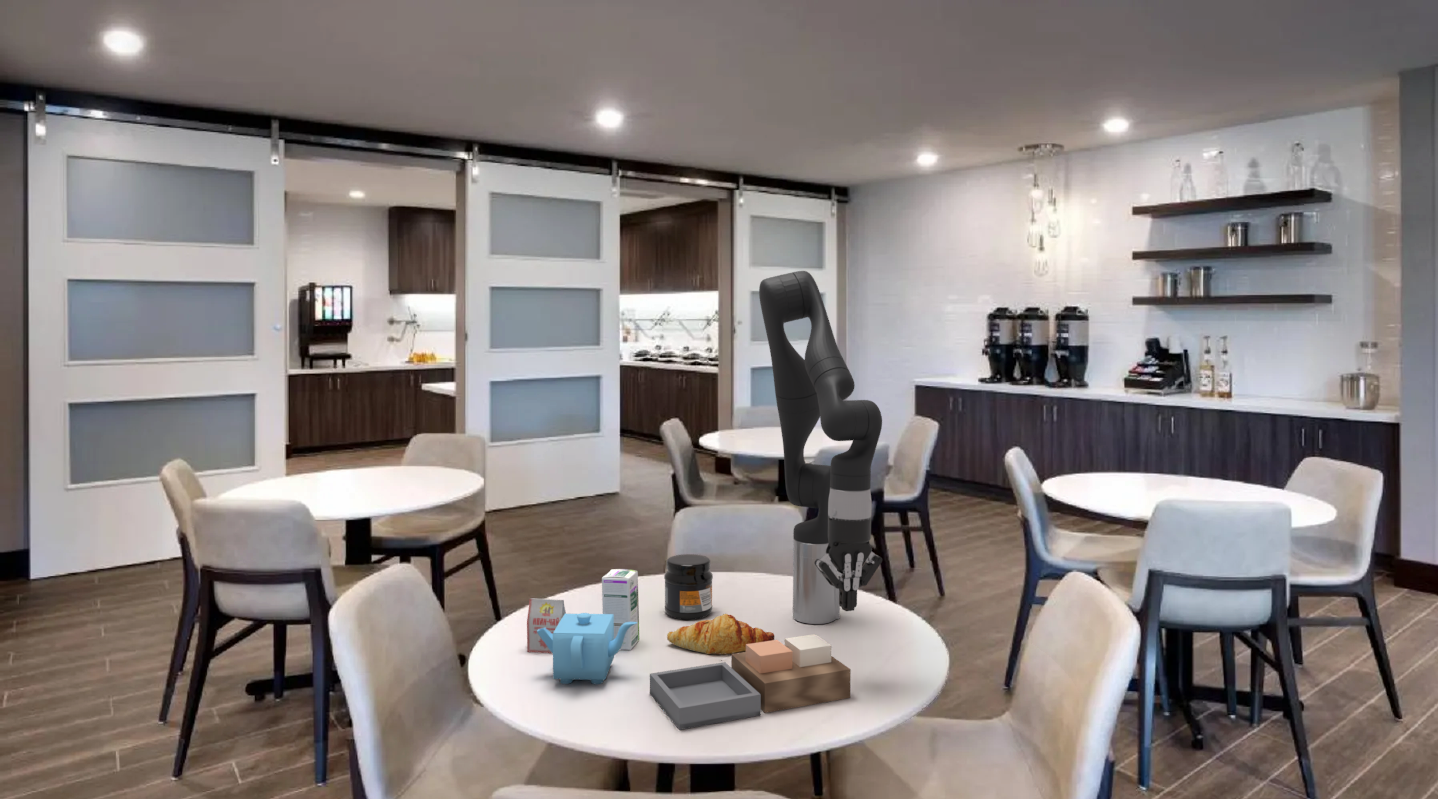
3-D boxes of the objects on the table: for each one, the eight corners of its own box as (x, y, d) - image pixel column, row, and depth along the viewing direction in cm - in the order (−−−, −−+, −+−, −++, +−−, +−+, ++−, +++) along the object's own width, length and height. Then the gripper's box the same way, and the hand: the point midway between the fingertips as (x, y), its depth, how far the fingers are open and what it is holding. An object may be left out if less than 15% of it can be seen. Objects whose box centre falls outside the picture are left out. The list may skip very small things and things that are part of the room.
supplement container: (715, 620, 194) (715, 565, 193) (666, 622, 193) (666, 566, 192) (709, 604, 205) (709, 552, 204) (662, 606, 203) (662, 554, 202)
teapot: (547, 659, 172) (546, 600, 171) (642, 660, 172) (642, 601, 171) (527, 693, 156) (526, 629, 155) (632, 695, 156) (631, 630, 155)
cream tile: (814, 650, 163) (814, 634, 163) (831, 662, 157) (831, 645, 157) (784, 655, 161) (784, 638, 160) (800, 667, 155) (800, 650, 155)
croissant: (665, 668, 177) (662, 639, 173) (670, 629, 185) (667, 600, 181) (774, 669, 176) (774, 640, 171) (774, 629, 184) (774, 601, 180)
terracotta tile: (776, 656, 160) (777, 639, 160) (792, 668, 155) (792, 651, 154) (745, 661, 158) (745, 644, 158) (760, 673, 152) (760, 656, 152)
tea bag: (534, 645, 180) (533, 595, 179) (567, 647, 179) (566, 597, 178) (527, 651, 176) (526, 601, 175) (561, 653, 175) (560, 603, 174)
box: (725, 681, 162) (725, 662, 161) (760, 715, 148) (760, 694, 148) (649, 693, 156) (649, 673, 156) (679, 729, 143) (679, 708, 142)
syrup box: (631, 650, 176) (630, 577, 175) (602, 648, 178) (601, 575, 176) (639, 640, 182) (639, 569, 181) (611, 638, 183) (610, 567, 182)
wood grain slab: (811, 668, 168) (811, 642, 167) (850, 697, 155) (850, 669, 154) (731, 681, 162) (731, 654, 161) (764, 713, 149) (765, 683, 148)
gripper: (871, 507, 166) (869, 600, 167) (806, 511, 161) (804, 607, 163) (893, 515, 159) (891, 612, 160) (826, 520, 154) (824, 620, 156)
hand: (847, 609), depth 161 cm, fingers closed
